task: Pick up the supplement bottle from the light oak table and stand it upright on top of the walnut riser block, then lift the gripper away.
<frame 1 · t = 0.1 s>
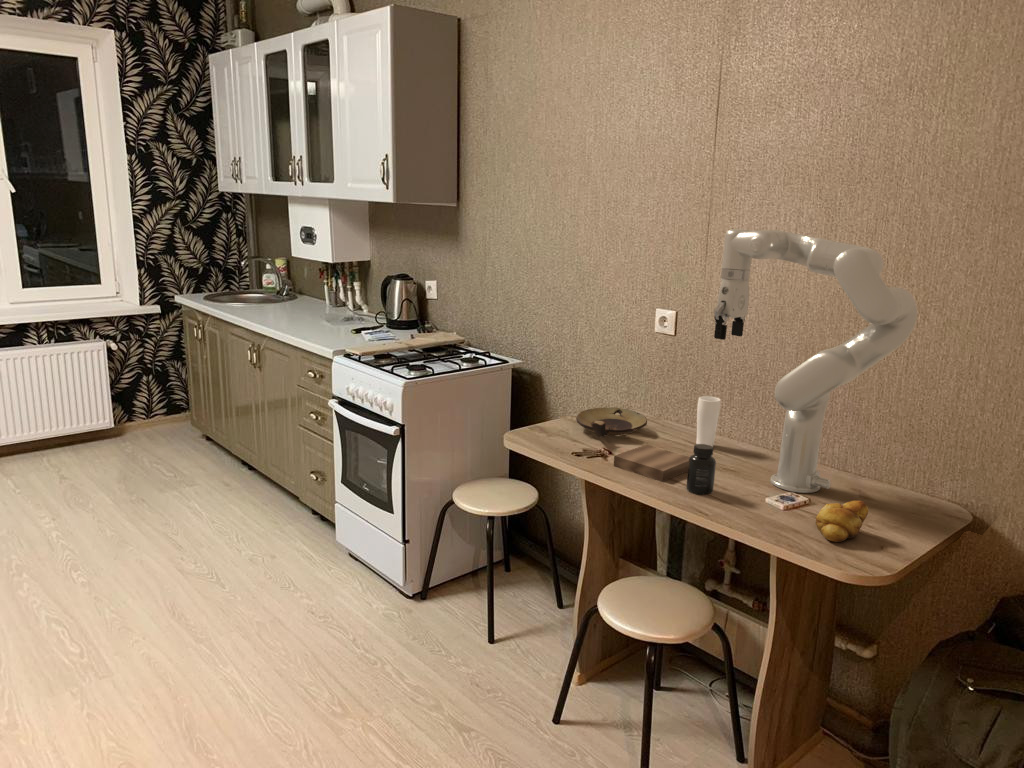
hand: (728, 337, 209), 37 cm above the table, tool pointing down, fingers open, 9 cm apart
supplement bottle: (699, 491, 195), on the table
olive brown shallow dish: (604, 433, 242), on the table
drinking glass: (704, 446, 233), on the table
walnut riser: (653, 467, 211), on the table
bread roll: (835, 535, 171), on the table
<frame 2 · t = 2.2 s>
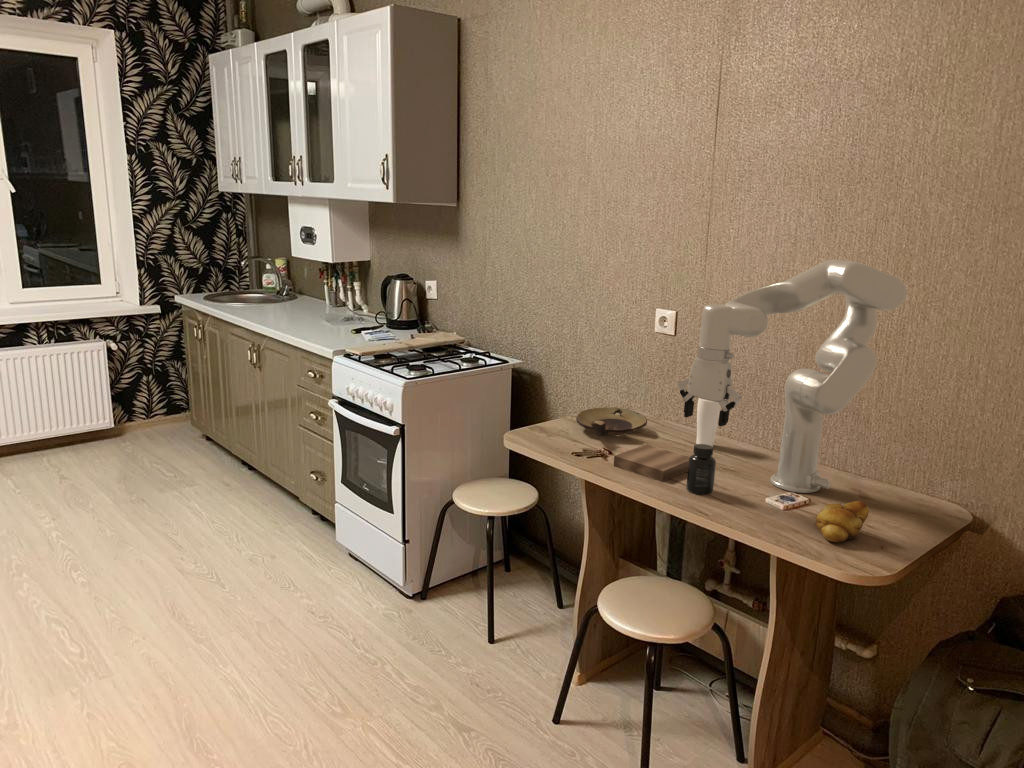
hand: (705, 420, 190), 19 cm above the table, tool pointing down, fingers open, 9 cm apart
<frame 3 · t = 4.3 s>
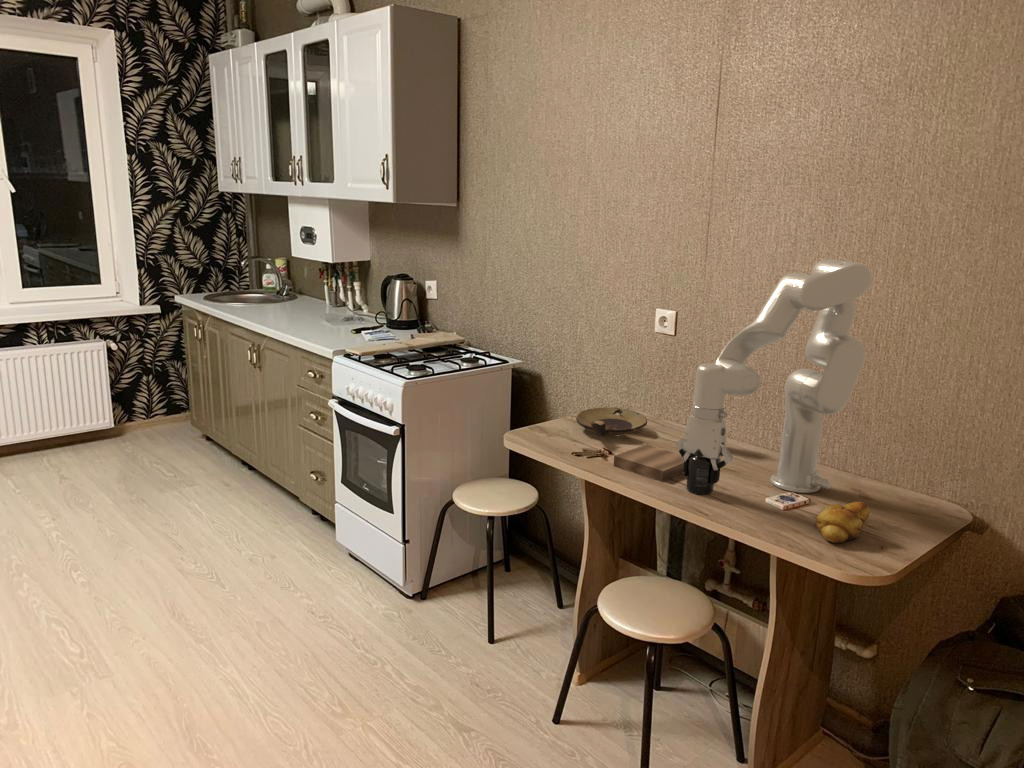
hand: (700, 478, 194), 3 cm above the table, tool pointing down, fingers closed on supplement bottle, 6 cm apart
supplement bottle: (699, 491, 195), on the table, touching gripper
everything else where it was.
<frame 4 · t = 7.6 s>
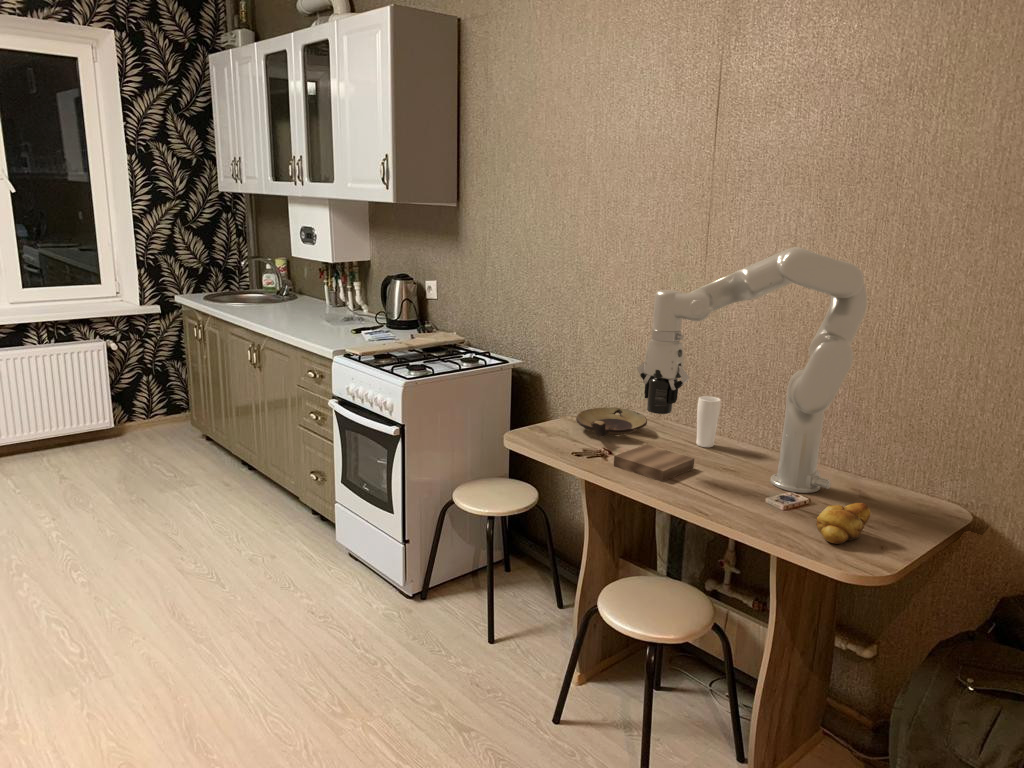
hand: (660, 399, 206), 20 cm above the table, tool pointing down, fingers closed on supplement bottle, 6 cm apart
supplement bottle: (659, 412, 207), point 16 cm above the table, touching gripper
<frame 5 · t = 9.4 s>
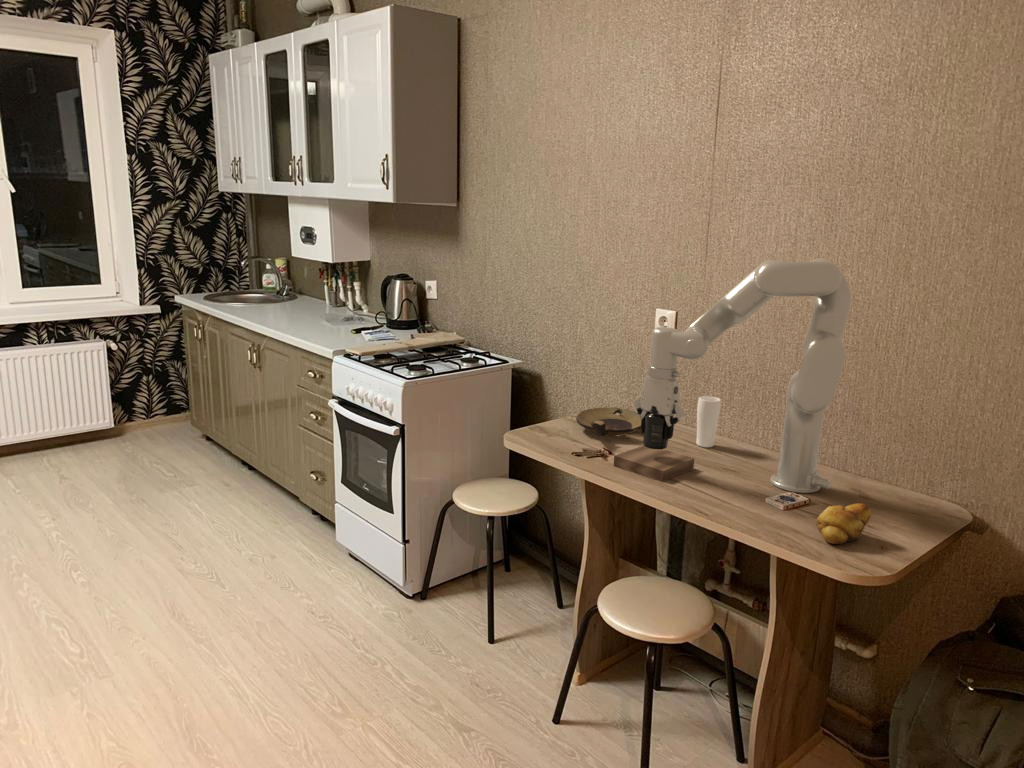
hand: (656, 435, 209), 9 cm above the table, tool pointing down, fingers closed on supplement bottle, 6 cm apart
supplement bottle: (654, 446, 210), point 6 cm above the table, touching gripper
when the fingers open (8 cm above the table, at t = 10.8 s): supplement bottle drops 1 cm, resting on walnut riser.
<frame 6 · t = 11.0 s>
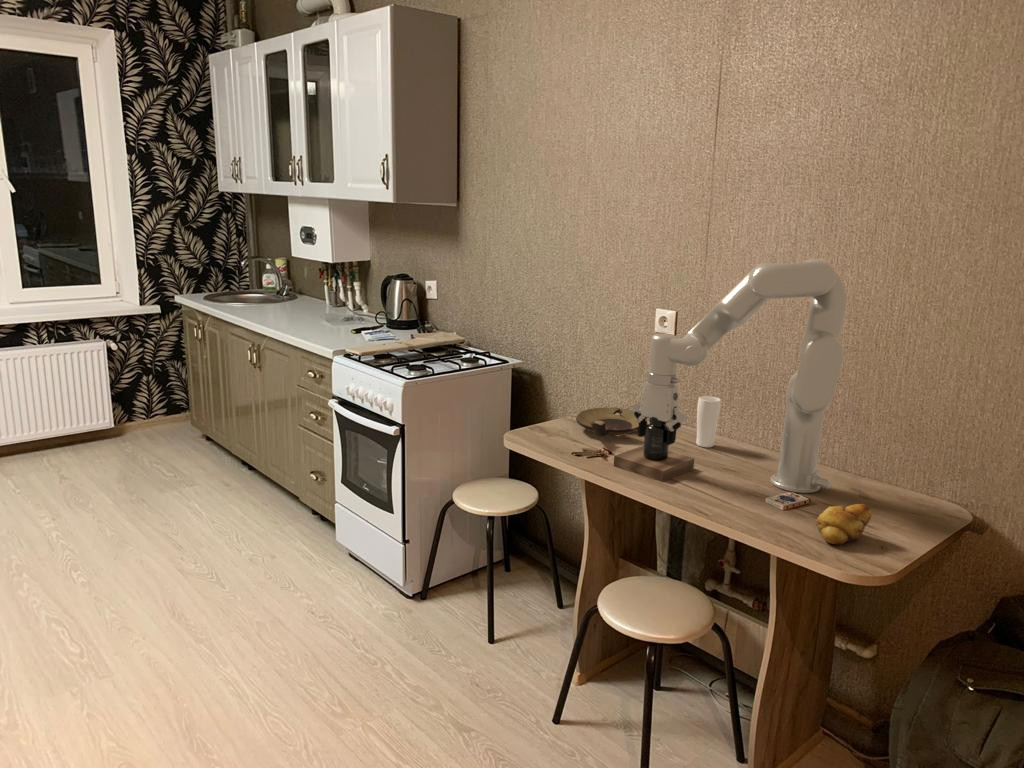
hand: (656, 439, 209), 8 cm above the table, tool pointing down, fingers open, 8 cm apart
supplement bottle: (655, 457, 210), point 3 cm above the table, touching walnut riser
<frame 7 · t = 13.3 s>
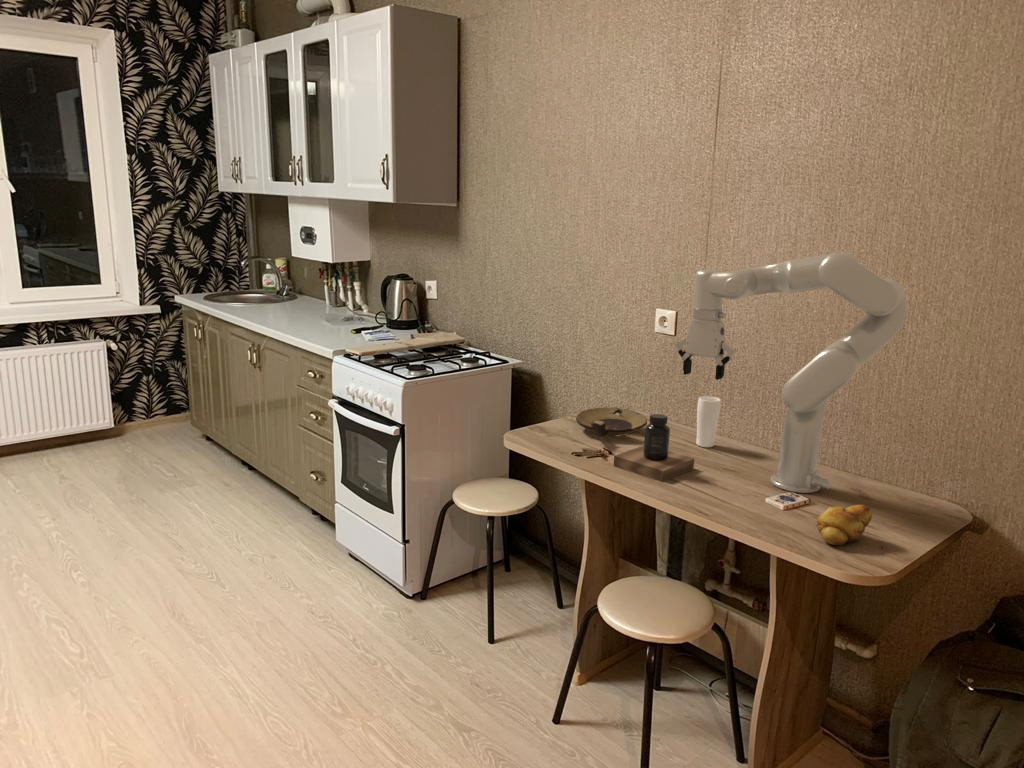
hand: (702, 376, 210), 26 cm above the table, tool pointing down, fingers open, 9 cm apart
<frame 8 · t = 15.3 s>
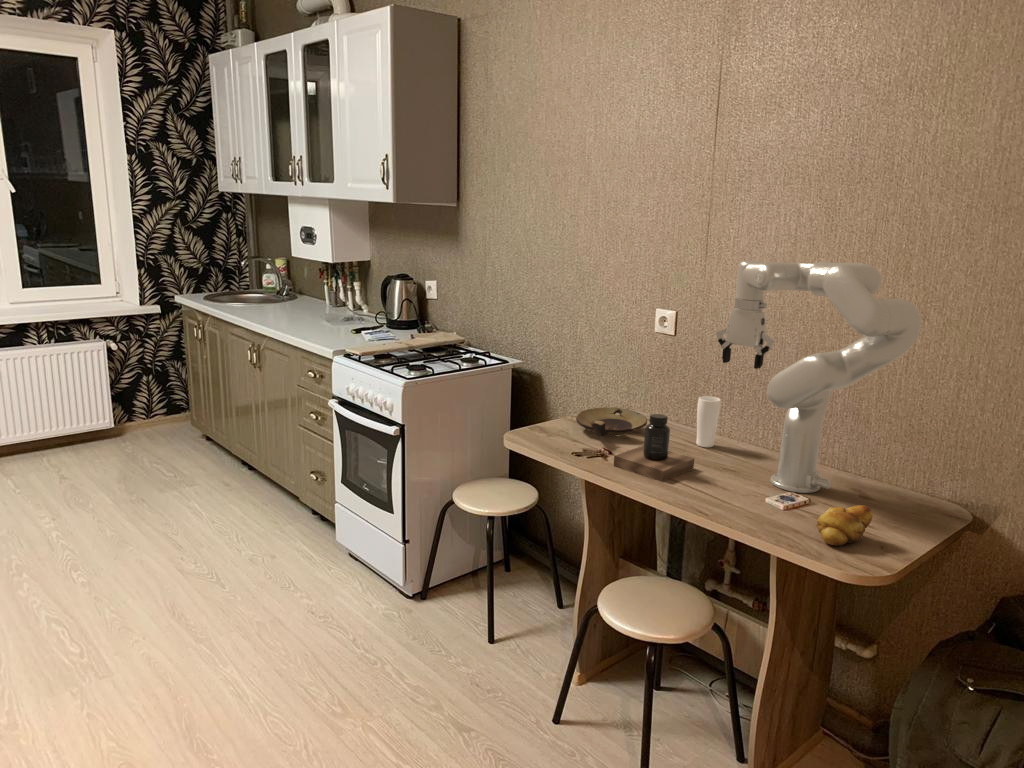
hand: (741, 365, 214), 28 cm above the table, tool pointing down, fingers open, 9 cm apart
at the end: supplement bottle inside the target area on the walnut riser (0.3 cm from its centre), point 2.8 cm above the walnut riser's base; supplement bottle tilted 0°; the gripper is holding nothing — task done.
